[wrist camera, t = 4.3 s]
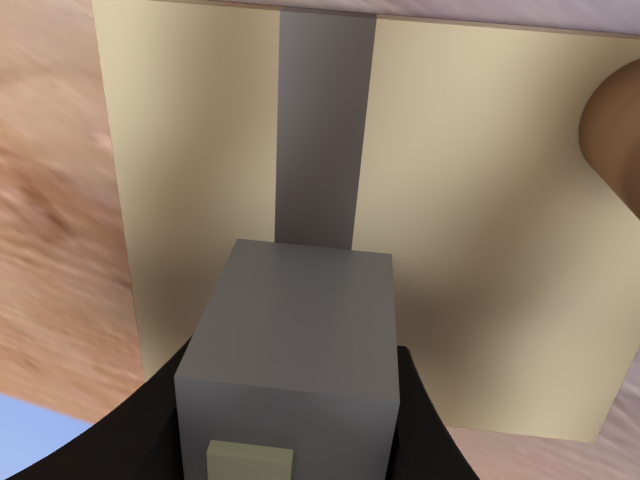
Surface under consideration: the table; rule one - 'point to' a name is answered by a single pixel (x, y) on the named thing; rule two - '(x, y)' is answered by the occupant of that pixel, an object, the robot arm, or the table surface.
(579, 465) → the table surface
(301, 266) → the block
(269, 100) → the plywood panel
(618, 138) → the awl
